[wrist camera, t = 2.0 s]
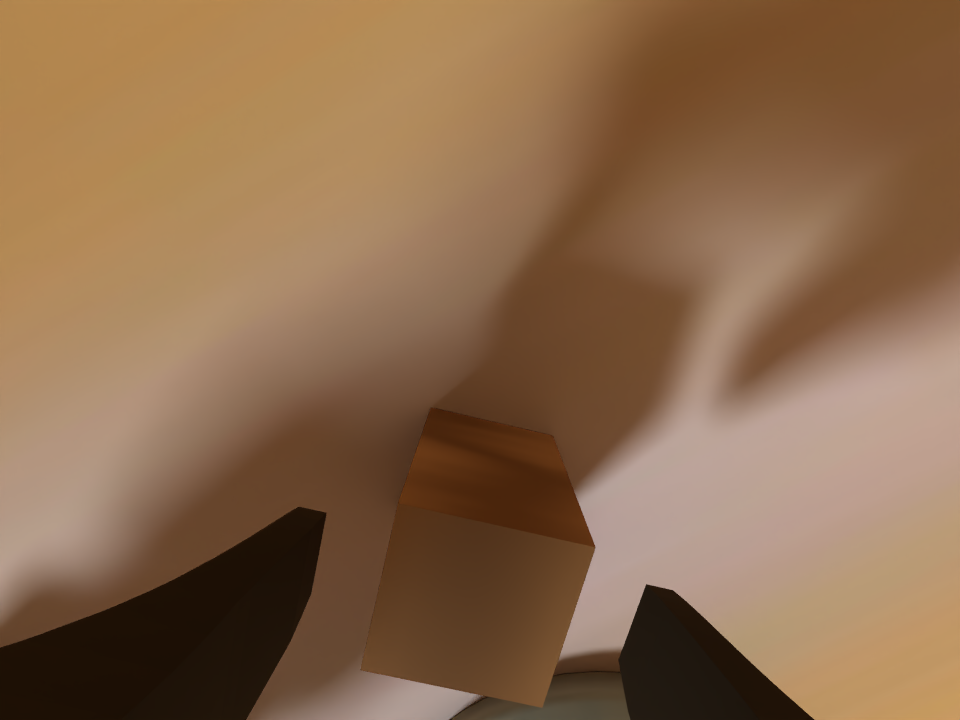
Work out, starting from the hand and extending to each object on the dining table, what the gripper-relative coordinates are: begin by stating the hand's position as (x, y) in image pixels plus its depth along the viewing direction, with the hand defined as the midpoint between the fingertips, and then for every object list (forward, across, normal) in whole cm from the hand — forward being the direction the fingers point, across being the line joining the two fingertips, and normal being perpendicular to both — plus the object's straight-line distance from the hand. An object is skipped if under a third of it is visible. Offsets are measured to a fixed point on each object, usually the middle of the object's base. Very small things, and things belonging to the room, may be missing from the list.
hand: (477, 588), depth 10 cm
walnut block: (+5, 0, 0) cm, 5 cm away
